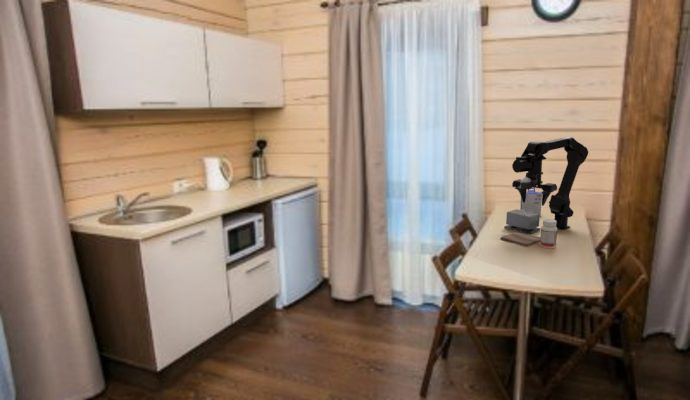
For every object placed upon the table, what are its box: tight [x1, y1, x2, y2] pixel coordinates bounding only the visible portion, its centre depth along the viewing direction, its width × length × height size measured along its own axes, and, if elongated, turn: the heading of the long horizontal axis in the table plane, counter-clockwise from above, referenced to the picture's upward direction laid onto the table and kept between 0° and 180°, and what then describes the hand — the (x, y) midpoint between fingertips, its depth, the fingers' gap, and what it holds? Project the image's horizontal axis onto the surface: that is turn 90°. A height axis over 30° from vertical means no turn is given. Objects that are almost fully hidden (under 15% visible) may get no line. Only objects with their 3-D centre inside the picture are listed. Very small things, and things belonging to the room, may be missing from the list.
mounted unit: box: [503, 209, 541, 235], centre depth 216 cm, size 9×13×8 cm
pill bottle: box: [539, 218, 558, 249], centre depth 191 cm, size 6×6×11 cm
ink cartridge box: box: [519, 187, 542, 217], centre depth 240 cm, size 10×6×14 cm, turn 78°
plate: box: [500, 231, 541, 247], centre depth 202 cm, size 13×13×1 cm
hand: (533, 204), depth 209 cm, fingers open, 9 cm apart
